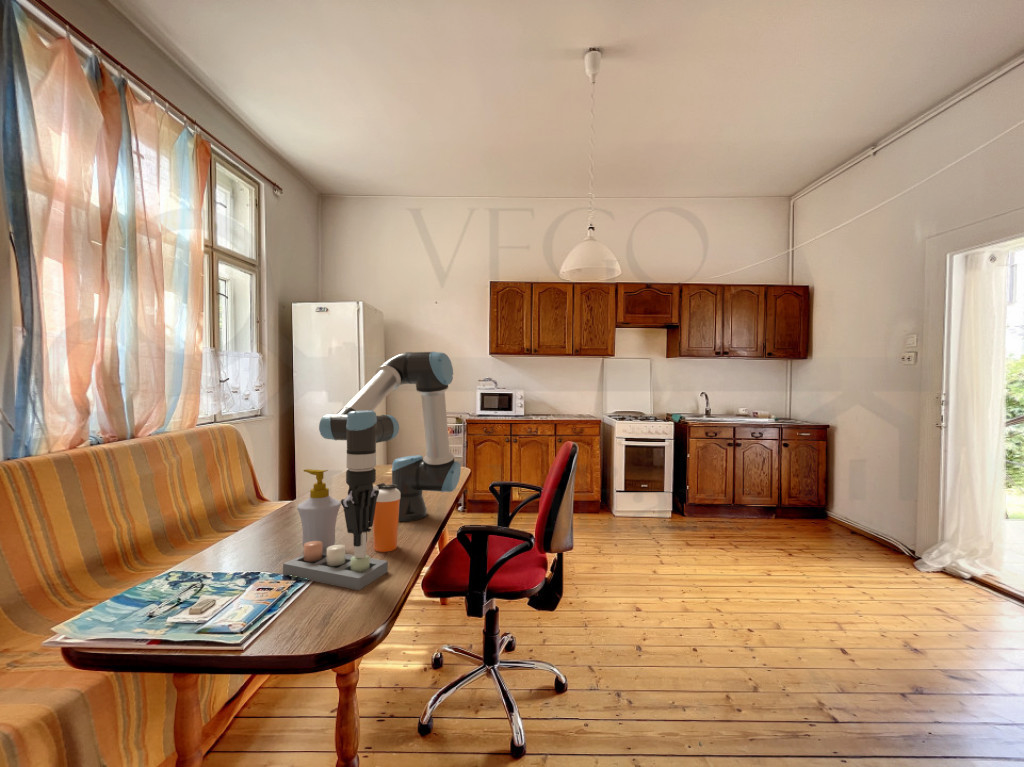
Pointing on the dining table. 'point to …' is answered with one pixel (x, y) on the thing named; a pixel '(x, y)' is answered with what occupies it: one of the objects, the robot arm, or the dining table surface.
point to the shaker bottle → (386, 517)
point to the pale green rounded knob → (360, 564)
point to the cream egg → (335, 555)
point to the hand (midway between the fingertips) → (360, 556)
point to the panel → (335, 571)
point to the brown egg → (312, 551)
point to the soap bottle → (319, 513)
